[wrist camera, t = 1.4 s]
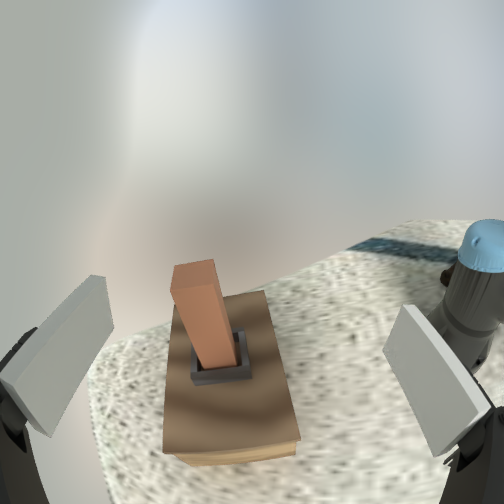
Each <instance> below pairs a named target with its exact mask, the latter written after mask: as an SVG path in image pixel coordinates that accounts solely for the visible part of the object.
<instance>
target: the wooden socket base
mask: <svg viewBox="0 0 504 504" xmlns="http://www.w3.org/2000/svg"><path fill="white" fill-rule="evenodd" d="M223 301H224V304H225V308H226V312H227V316H228V320H229V323H230V327H231V331H232V335H233V338H234V342H235V345H236V353H237V362H238V367H231V368H224V369H217V370H208V371H205V370H204V368H203V366H202V364H201V362H200V360H199V358H198V356H197V353H196V351H195V349H194V347H193V345H192V342H191V340H190V338H189V336H188V333H187V331H186V329H185V326H184V324H183V322H182V319H181V317H180V314H179V312H178V310H177V307H176V305H174V310H173V318H172V326H171V335H170V344H169V353H168V364H167V375H166V387H165V402H164V421H163V453H164V454H173V455H175V456H176V457H178V458H179V459H181V460H182V461H184V462H185V463H187V464H189V465H190V466H212V465H227V464H238V463H247V462H255V461H262V460H269V459H275V458H280V457H286V456H291V455H295V450H296V442H297V441H301V437H300V433H299V429H298V425H297V421H296V417H295V413H294V409H293V405H292V401H291V397H290V393H289V389H288V385H287V381H286V377H285V373H284V369H283V365H282V361H281V357H280V353H279V349H278V345H277V341H276V337H275V333H274V329H273V325H272V321H271V317H270V313H269V309H268V305H267V301H266V297H265V293H264V290H261V291H256V292H250V293H244V294H239V295H233V296H227V297H223Z"/></svg>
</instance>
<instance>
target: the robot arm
mask: <svg viewBox="0 0 504 504" xmlns="http://www.w3.org/2000/svg"><path fill="white" fill-rule="evenodd" d="M499 323H502V324H504V221H501V220H495V219H485V220H480V221H477V222H475V223H473V224H472V225H471V226H470V227H469V228H468V229H467V231H466V233H465V236H464V239H463V243H462V246H461V247H460V249H459V251H458V260H457V263H456V266H455V269H454V272H453V275H452V277H451V280H450V283H449V286H448V288H447V291H446V294H445V296H444V298H443V300H442V301H441V302H440V304H439V305H438V306H437V307H436V308H435V309H434V310H433V311H432V312H431V313H430V314H429V315H428V317H427V318H425V316H424V315H423V314H422V313H421V312H420V310H419V309H418V308H417V307H416V306H415V305H404V304H402V306H401V309H400V311H399V314H398V316H397V319H396V321H395V324H394V326H393V328H392V331H391V333H390V335H389V337H388V339H387V342H386V344H385V346H384V348H383V350H382V351H383V353H384V355H385V356H386V358H387V360H388V362H389V364H390V366H391V368H392V370H393V372H394V373H395V375H396V377H397V379H398V381H399V383H400V385H401V387H402V389H403V391H404V393H405V395H406V397H407V399H408V401H409V403H410V406H411V408H412V410H413V412H414V414H415V416H416V418H417V420H418V423H419V425H420V427H421V429H422V431H423V434H424V436H425V438H426V440H427V443H428V445H429V447H430V450H431V452H432V455H433V457H434V458H435V457H437V456H440V455H442V454H445V453H447V452H448V451H450V450H451V449H452V448H453V447H454V446H455V445H456V444H458V446H459V448H458V449H457V450H456V451H455V452H454V453H453V454H452V455H450V456H449V457H448V458H447V459H446V460H445V461H444V463H443V464H444V465H445V464H447V463H448V462H449V461H450V460H451V459H453V461H452V462H450V463H449V464H448V466H450V467H451V468H450V472H449V475H448V479H447V482H446V485H445V488H444V491H443V494H442V497H441V500H440V502H439V504H504V407H502V406H500V407H497V408H496V407H495V406H494V405H493V403H492V402H491V400H490V398H489V397H488V395H487V394H486V392H485V391H484V389H483V388H482V387H481V385H480V384H478V381H477V379H476V378H475V377H473V374H474V373H476V372H477V371H478V370H479V369H480V367H481V366H482V365H483V363H484V362H485V360H486V359H487V357H488V354H489V351H490V348H491V344H492V340H493V336H494V332H495V330H496V328H497V327H498V325H499ZM113 329H114V325H113V320H112V315H111V310H110V304H109V298H108V292H107V285H106V279H105V277H102V276H96V275H90V276H89V277H88V278H87V279H86V280H85V281H84V282H83V283H82V284H81V285H80V286H79V287H78V288H77V289H76V290H74V291H73V292H72V293H71V294H70V295H69V296H68V298H66V299H65V300H64V302H62V304H60V305H59V307H57V309H56V310H55V311H54V312H53V313H52V314H51V315H50V316H49V317H48V318H47V319H46V320H45V321H44V322H43V323H42V324H41V325H40V326H39V328H37V327H35V328H33V329H31V330H30V331H28V332H26V333H25V334H24V335H23V336H22V337H21V338H20V340H19V341H18V343H16V344H15V345H14V346H13V347H12V350H10V351H9V352H8V353H7V354H6V356H5V357H4V358H3V359H2V360H1V362H0V504H49V502H48V499H47V497H46V494H45V491H44V488H43V485H42V483H41V480H40V477H39V473H38V470H37V467H36V463H35V460H34V456H33V452H32V448H31V444H30V439H29V434H28V430H27V428H26V426H25V424H26V422H27V420H28V421H29V423H30V424H31V425H32V426H33V428H34V429H35V430H37V431H39V432H40V433H42V434H44V435H46V436H48V437H50V438H51V436H52V434H53V432H54V431H55V428H56V426H57V425H58V423H59V421H60V419H61V417H62V415H63V413H64V411H65V410H66V408H67V406H68V404H69V402H70V400H71V399H72V397H73V395H74V393H75V392H76V390H77V388H78V386H79V384H80V383H81V381H82V379H83V378H84V376H85V374H86V373H87V371H88V369H89V368H90V366H91V364H92V363H93V361H94V359H95V358H96V356H97V354H98V353H99V351H100V350H101V348H102V346H103V345H104V343H105V342H106V340H107V339H108V337H109V336H110V334H111V332H112V331H113Z"/></svg>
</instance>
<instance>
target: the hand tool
mask: <svg viewBox="0 0 504 504" xmlns="http://www.w3.org/2000/svg"><path fill="white" fill-rule="evenodd" d="M456 263H457V262H456ZM456 263H455V264H454V265H453V266H451V267H450V268H449V269H448V270H444V271H443V272H442V274H441V278H440V280H441V283H442V284H444V285H445V286H446V287H448V286H449V283H450V280H451V277H452V275H453V272H454V269H455V266H456Z"/></svg>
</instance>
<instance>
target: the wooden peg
mask: <svg viewBox="0 0 504 504" xmlns="http://www.w3.org/2000/svg"><path fill="white" fill-rule="evenodd" d="M170 292H171V294H172V297H173V300H174V302H175V305H176V307H177V310H178V312H179V314H180V317H181V319H182V322H183V324H184V326H185V329H186V331H187V333H188V336H189V338H190V340H191V342H192V345H193V347H194V349H195V351H196V353H197V356H198V358H199V360H200V362H201V364H202V366H203V368H204V370H205V371H208V370H217V369H224V368H231V367H238V362H237V353H236V345H235V342H234V338H233V335H232V331H231V327H230V323H229V320H228V316H227V312H226V308H225V304H224V301H223V297H222V293H221V289H220V285H219V281H218V277H217V273H216V269H215V264H214V260H213V259H210V260H204V261H199V262H193V263H187V264H181V265H175V267H174V272H173V277H172V283H171V288H170Z"/></svg>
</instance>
